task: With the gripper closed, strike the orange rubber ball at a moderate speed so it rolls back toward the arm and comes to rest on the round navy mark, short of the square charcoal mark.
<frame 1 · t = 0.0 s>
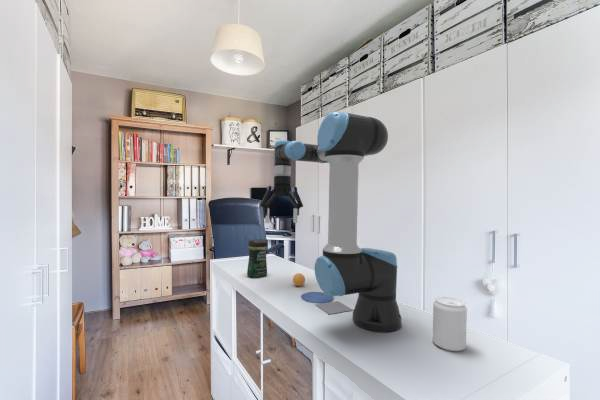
hand: (281, 223, 133), 28 cm above the cabinet, tool pointing down, fingers open, 13 cm apart
coffee jar: (257, 276, 148), on the cabinet
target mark: (317, 297, 118), on the cabinet
beverage can: (448, 346, 81), on the cabinet
ball: (298, 279, 133), on the cabinet
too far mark: (333, 307, 107), on the cabinet
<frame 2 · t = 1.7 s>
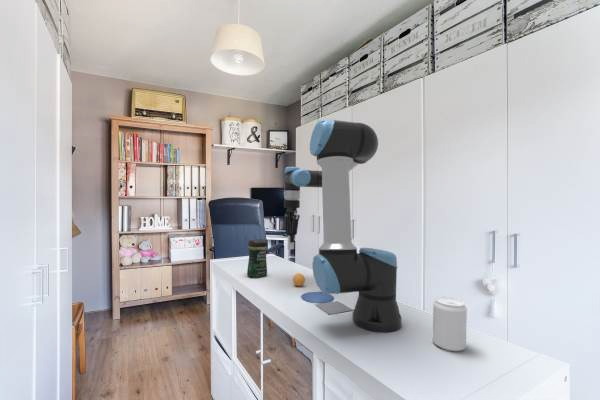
hand: (290, 248, 142), 15 cm above the cabinet, tool pointing down, fingers closed
nothing on the cabinet moved.
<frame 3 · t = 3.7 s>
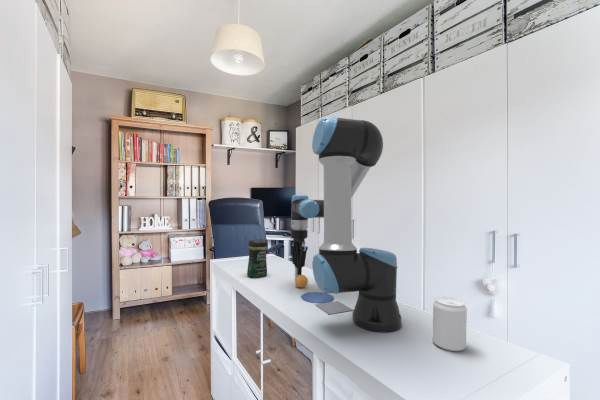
hand: (298, 281, 134), 2 cm above the cabinet, tool pointing down, fingers closed
ball: (301, 281, 131), on the cabinet, touching gripper
everything else where it was.
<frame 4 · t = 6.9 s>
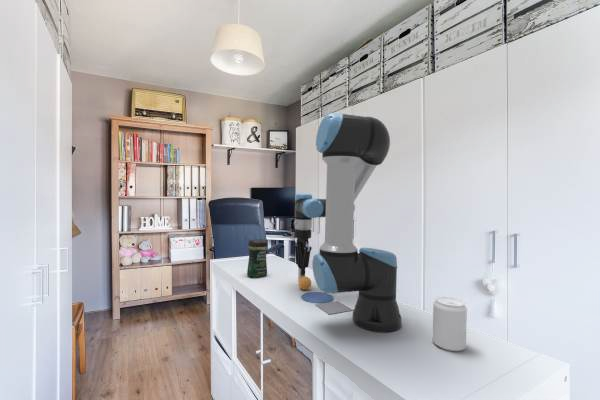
hand: (301, 282, 131), 2 cm above the cabinet, tool pointing down, fingers closed
ball: (305, 283, 128), on the cabinet, touching gripper
everything else where it was.
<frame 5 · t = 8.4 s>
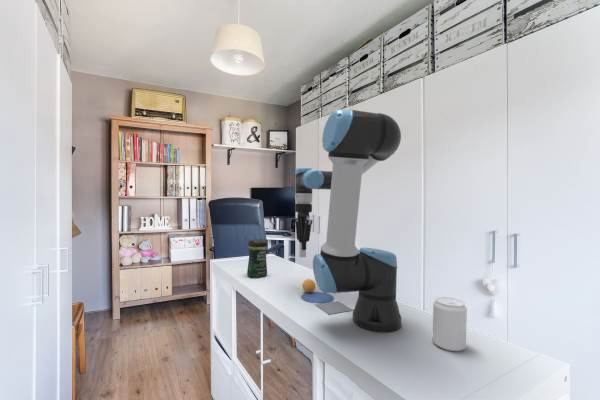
hand: (302, 256, 130), 14 cm above the cabinet, tool pointing down, fingers closed
ball: (309, 285, 124), on the cabinet
everything else where it was.
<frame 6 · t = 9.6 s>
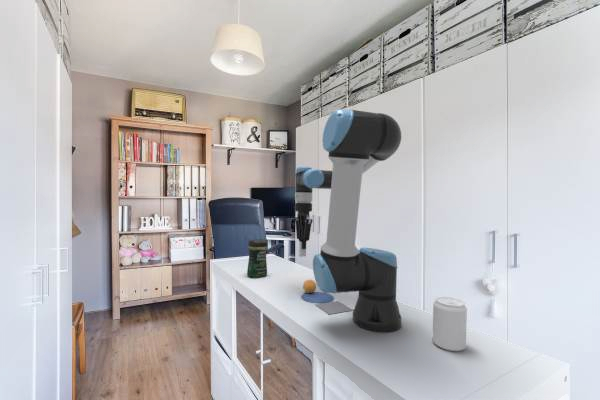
hand: (302, 256, 130), 14 cm above the cabinet, tool pointing down, fingers closed
nothing on the cabinet moved.
at the end: ball 6.2 cm from the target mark (horizontally); ball at rest at the end (0.0 cm/s); ball moved 10.8 cm from its start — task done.
